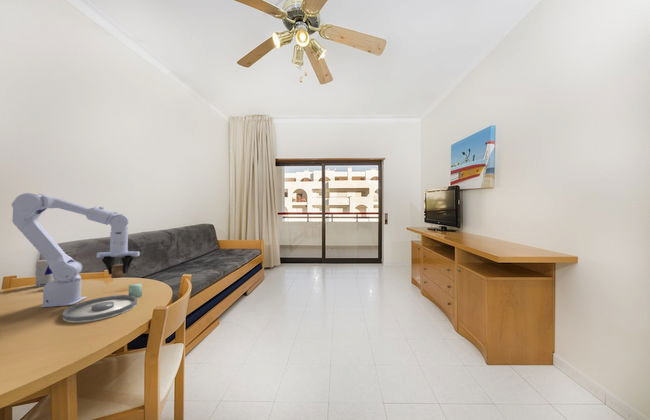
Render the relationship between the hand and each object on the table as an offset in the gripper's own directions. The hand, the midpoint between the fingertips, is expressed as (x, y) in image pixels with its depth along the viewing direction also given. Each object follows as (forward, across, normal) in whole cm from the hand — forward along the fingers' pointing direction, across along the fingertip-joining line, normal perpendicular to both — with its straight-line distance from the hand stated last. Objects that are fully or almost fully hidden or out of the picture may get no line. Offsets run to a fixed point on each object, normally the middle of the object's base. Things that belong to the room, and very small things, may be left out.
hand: (118, 273), depth 99 cm
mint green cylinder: (+9, +8, -4) cm, 13 cm away
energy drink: (+10, -39, +22) cm, 46 cm away
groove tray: (+9, +3, -16) cm, 19 cm away
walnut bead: (+1, 0, 0) cm, 1 cm away
